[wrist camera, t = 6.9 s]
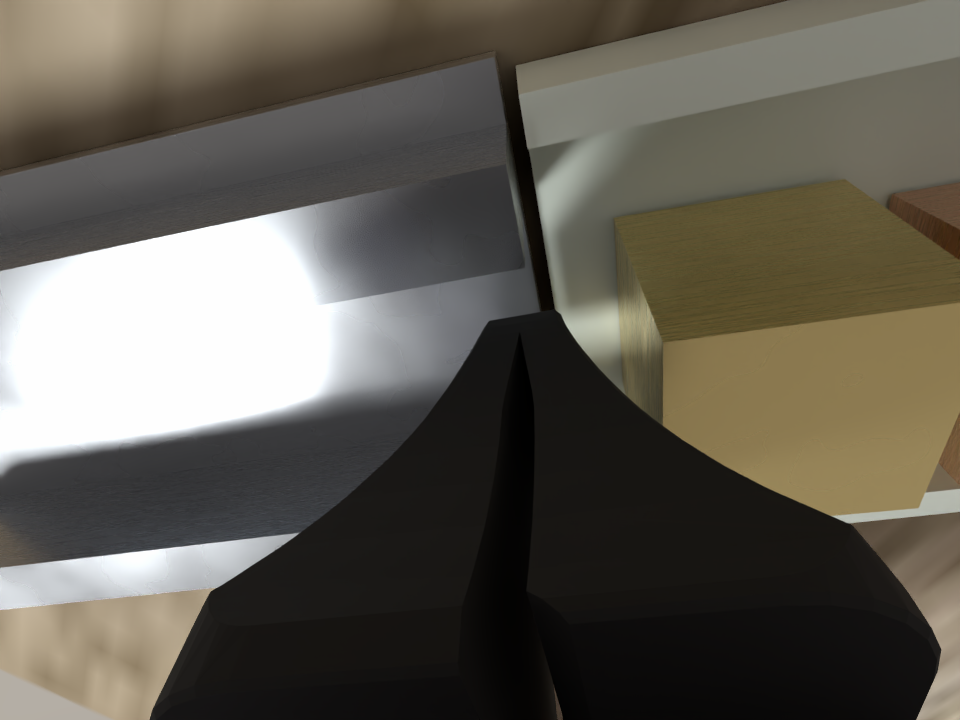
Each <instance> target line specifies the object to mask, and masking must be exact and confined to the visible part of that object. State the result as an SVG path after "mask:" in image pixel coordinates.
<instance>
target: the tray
mask: <svg viewBox="0 0 960 720" xmlns="http://www.w3.org/2000/svg"><path fill="white" fill-rule="evenodd" d="M516 75H517V84H518V94H519V100H520V106H521V112H522V118H523V124H524V130H525V136H526V143H527V149H529V153H530V159H531V165H532V171H533V177H534V183H535V189H536V196H537V202H538V208H539V214H540V220H541V226H542V232H543V239H544V245H545V251H546V257H547V263H548V269H549V275H550V281H551V288H552V294H553V300H554V306H555V310H556V311H557V312H559V313H560V314H561V315H562V318H563V320H564V322H565V324H566V326H567V328H568V329H569V331H570V332H571V334H572V335H573V337H574V338H575V340H576V341H577V342H578V344H579V345H580V346H581V348H582V349H583V350H584V351H585V353H586V354H587V355H588V356H589V357H590V359H591V360H592V361H593V362H594V363H595V364H596V366H597V367H598V368H599V369H600V370H601V371H602V372H603V373H604V374H605V375H606V376H607V377H608V379H610V380H611V381H612V382H613V383H614V384H615V385H616V386H617V387H618V388H619V389H620V390H621V391H622V392H623V393H624V394H625V395H626V393H625V389H624V385H623V380H622V362H621V344H620V325H619V307H618V289H617V271H616V252H615V234H614V218H615V217H621V216H627V215H633V214H639V213H645V212H651V211H657V210H663V209H669V208H675V207H681V206H687V205H693V204H699V203H705V202H711V201H717V200H723V199H728V198H734V197H740V196H746V195H752V194H758V193H764V192H770V191H776V190H782V189H788V188H794V187H800V186H806V185H812V184H818V183H824V182H830V181H836V180H842V179H846V180H847V181H848V182H850V183H851V184H853V185H854V186H855V187H857V188H858V189H860V190H861V191H862V192H864V193H865V194H867V195H868V196H869V197H871V198H872V199H874V200H875V201H877V202H878V203H879V204H881V205H882V206H884V207H885V208H886V209H888V210H889V206H890V201H891V196H892V194H896V193H901V192H907V191H913V190H918V189H924V188H929V187H935V186H941V185H946V184H952V183H957V182H960V0H788V1H784V2H780V3H776V4H772V5H767V6H763V7H759V8H755V9H751V10H746V11H742V12H738V13H734V14H730V15H725V16H721V17H717V18H713V19H709V20H705V21H700V22H696V23H692V24H688V25H684V26H679V27H675V28H671V29H667V30H663V31H658V32H654V33H650V34H646V35H642V36H637V37H633V38H629V39H625V40H621V41H616V42H612V43H608V44H604V45H600V46H595V47H591V48H587V49H583V50H579V51H574V52H570V53H566V54H562V55H558V56H554V57H549V58H545V59H541V60H537V61H533V62H528V63H524V64H520V65H516ZM954 512H960V485H959V484H958V483H957V482H956V481H955V480H954V479H953V478H952V477H951V476H950V475H949V474H948V473H947V472H946V471H945V470H944V468H943V467H942V466H941V465H940V464H939V463H938V464H937V466H936V469H935V471H934V473H933V476H932V478H931V480H930V483H929V485H928V487H927V490H926V492H925V494H924V497H923V499H922V501H921V504H920V506H919V508H915V509H904V510H893V511H882V512H870V513H859V514H848V515H837V516H832V517H835V518H837V519H839V520H841V521H844V522H846V523H857V522H866V521H876V520H886V519H896V518H905V517H915V516H925V515H934V514H944V513H954Z"/></svg>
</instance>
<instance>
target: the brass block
mask: <svg viewBox="0 0 960 720" xmlns="http://www.w3.org/2000/svg"><path fill="white" fill-rule="evenodd" d="M614 234H615V252H616V271H617V289H618V307H619V325H620V344H621V362H622V380H623V385H624V389H625V393H626V396H627V397H628V398H629V399H630V400H632V401H633V402H634V403H635V404H636V405H637V406H639V407H640V408H641V409H642V410H643V411H645V412H646V413H647V414H648V415H650V416H651V417H652V418H653V419H655V420H656V421H657V422H658V423H660V424H661V425H663V426H664V427H665V428H667V429H668V430H670V431H671V432H672V433H674V434H675V435H676V436H678V437H679V438H681V439H682V440H684V441H685V442H687V443H688V444H690V445H692V446H693V447H695V448H696V449H698V450H700V451H701V452H703V453H705V454H706V455H708V456H709V457H711V458H713V459H714V460H716V461H718V462H719V463H721V464H722V465H724V466H726V467H728V468H730V469H732V470H734V471H735V472H737V473H739V474H741V475H743V476H745V477H747V478H749V479H751V480H753V481H755V482H756V483H758V484H760V485H762V486H764V487H766V488H768V489H771V490H773V491H775V492H777V493H779V494H782V495H784V496H786V497H789V498H791V499H793V500H796V501H798V502H800V503H802V504H805V505H807V506H809V507H812V508H814V509H816V510H818V511H821V512H823V513H825V514H828V515H830V516H837V515H848V514H859V513H870V512H882V511H893V510H904V509H915V508H919V506H920V504H921V501H922V499H923V497H924V494H925V492H926V490H927V487H928V485H929V483H930V480H931V478H932V476H933V473H934V471H935V469H936V466H937V464H938V462H939V459H940V457H941V455H942V452H943V450H944V448H945V445H946V443H947V441H948V438H949V436H950V434H951V431H952V429H953V427H954V424H955V422H956V420H957V417H958V415H959V413H960V260H958V259H957V258H955V257H954V256H953V255H951V254H950V253H948V252H947V251H946V250H944V249H943V248H941V247H940V246H939V245H937V244H936V243H934V242H933V241H931V240H930V239H929V238H927V237H926V236H924V235H923V234H922V233H920V232H919V231H917V230H916V229H915V228H913V227H912V226H910V225H909V224H908V223H906V222H905V221H903V220H902V219H900V218H899V217H898V216H896V215H895V214H893V213H892V212H891V211H889V210H888V209H886V208H885V207H884V206H882V205H881V204H879V203H878V202H877V201H875V200H874V199H872V198H871V197H869V196H868V195H867V194H865V193H864V192H862V191H861V190H860V189H858V188H857V187H855V186H854V185H853V184H851V183H850V182H848V181H847V180H846V179H842V180H836V181H830V182H824V183H818V184H812V185H806V186H800V187H794V188H788V189H782V190H776V191H770V192H764V193H758V194H752V195H746V196H740V197H734V198H728V199H723V200H717V201H711V202H705V203H699V204H693V205H687V206H681V207H675V208H669V209H663V210H657V211H651V212H645V213H639V214H633V215H627V216H621V217H615V218H614Z"/></svg>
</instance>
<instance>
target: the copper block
mask: <svg viewBox="0 0 960 720" xmlns="http://www.w3.org/2000/svg"><path fill="white" fill-rule="evenodd" d="M889 211H891V212H892V213H893V214H895V215H896V216H898V217H899V218H900V219H902V220H903V221H905V222H906V223H908V224H909V225H910V226H912V227H913V228H915V229H916V230H917V231H919V232H920V233H922V234H923V235H924V236H926V237H927V238H929V239H930V240H931V241H933V242H934V243H936V244H937V245H939V246H940V247H941V248H943V249H944V250H946V251H947V252H948V253H950V254H951V255H953V256H954V257H955V258H957V259H958V260H960V182H957V183H952V184H946V185H941V186H935V187H929V188H924V189H918V190H913V191H907V192H901V193H896V194H892V196H891V201H890V206H889ZM938 463H939V464H940V465H941V466H942V467H943V468H944V470H945V471H946V472H947V473H948V474H949V475H950V476H951V477H952V478H953V479H954V480H955V481H956V482H957V483H958V484H959V485H960V413H959V415H958V417H957V420H956V422H955V424H954V427H953V429H952V431H951V434H950V436H949V438H948V441H947V443H946V445H945V448H944V450H943V452H942V455H941V457H940V459H939V462H938Z"/></svg>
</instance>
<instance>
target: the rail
mask: <svg viewBox="0 0 960 720" xmlns="http://www.w3.org/2000/svg"><path fill="white" fill-rule="evenodd" d="M537 312H542V310H541V304H540V298H539V293H538V287H537V282H536V276H535V270H534V265H533V259H532V254H531V248H530V242H529V237H528V231H527V226H526V220H525V214H524V209H523V203H522V198H521V192H520V186H519V181H518V175H517V170H516V164H515V158H514V153H513V147H512V142H511V136H510V130H509V125H508V119H507V114H506V108H505V102H504V97H503V91H502V86H501V80H500V74H499V69H498V63H497V58H496V52H495V51H491V52H487V53H483V54H479V55H475V56H471V57H467V58H463V59H458V60H454V61H450V62H446V63H442V64H438V65H434V66H430V67H426V68H422V69H417V70H413V71H409V72H405V73H401V74H397V75H393V76H389V77H385V78H381V79H376V80H372V81H368V82H364V83H360V84H356V85H352V86H348V87H344V88H340V89H335V90H331V91H327V92H323V93H319V94H315V95H311V96H307V97H303V98H299V99H294V100H290V101H286V102H282V103H278V104H274V105H270V106H266V107H262V108H258V109H253V110H249V111H245V112H241V113H237V114H233V115H229V116H225V117H221V118H217V119H212V120H208V121H204V122H200V123H196V124H192V125H188V126H184V127H180V128H176V129H171V130H167V131H163V132H159V133H155V134H151V135H147V136H143V137H139V138H135V139H130V140H126V141H122V142H118V143H114V144H110V145H106V146H102V147H98V148H94V149H89V150H85V151H81V152H77V153H73V154H69V155H65V156H61V157H57V158H53V159H48V160H44V161H40V162H36V163H32V164H28V165H24V166H20V167H16V168H12V169H7V170H3V171H0V610H4V609H14V608H23V607H33V606H43V605H52V604H62V603H72V602H81V601H91V600H101V599H110V598H120V597H130V596H140V595H149V594H159V593H169V592H178V591H188V590H198V589H207V588H217V587H219V586H221V585H223V584H224V583H226V582H227V581H229V580H231V579H232V578H234V577H235V576H237V575H238V574H240V573H241V572H243V571H244V570H246V569H247V568H249V567H250V566H252V565H253V564H255V563H257V562H258V561H260V560H261V559H263V558H264V557H266V556H267V555H269V554H270V553H272V552H273V551H275V550H276V549H278V548H279V547H281V546H282V545H284V544H285V543H287V542H288V541H289V540H291V539H292V538H294V537H295V536H296V535H298V534H299V533H301V532H302V531H303V530H305V529H306V528H307V527H309V526H310V525H311V524H313V523H314V522H315V521H317V520H318V519H319V518H321V517H322V516H323V515H324V514H326V513H327V512H328V511H329V510H331V509H332V508H333V507H334V506H336V505H337V504H338V503H339V502H341V501H342V500H343V499H344V498H345V497H347V496H348V495H349V494H350V493H351V492H352V491H354V490H355V489H356V488H357V487H358V486H359V485H360V484H361V483H362V482H363V481H364V480H366V479H367V478H368V477H369V476H370V475H371V474H372V473H373V472H374V471H375V470H376V469H378V468H379V467H380V466H381V465H382V464H383V463H384V462H385V461H386V460H387V459H388V458H389V457H390V456H391V455H392V454H393V453H394V452H395V451H396V450H397V449H398V448H399V447H400V446H401V445H402V444H403V443H404V442H405V441H406V440H407V438H408V437H409V436H410V435H411V434H412V433H413V432H414V431H415V430H416V428H417V427H418V426H419V425H420V424H421V422H422V421H423V420H424V419H425V417H426V416H427V415H428V413H429V412H430V411H431V409H432V408H433V407H434V405H435V404H436V403H437V401H438V400H439V399H440V397H441V396H442V395H443V393H444V392H445V390H446V389H447V388H448V386H449V385H450V383H451V382H452V380H453V379H454V377H455V375H456V374H457V372H458V371H459V369H460V368H461V366H462V365H463V363H464V361H465V360H466V358H467V356H468V355H469V353H470V351H471V350H472V348H473V346H474V345H475V343H476V341H477V339H478V337H479V336H480V334H481V332H482V330H483V329H484V327H485V326H486V324H487V323H488V322H489V321H491V320H496V319H502V318H508V317H514V316H520V315H525V314H531V313H537Z"/></svg>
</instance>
